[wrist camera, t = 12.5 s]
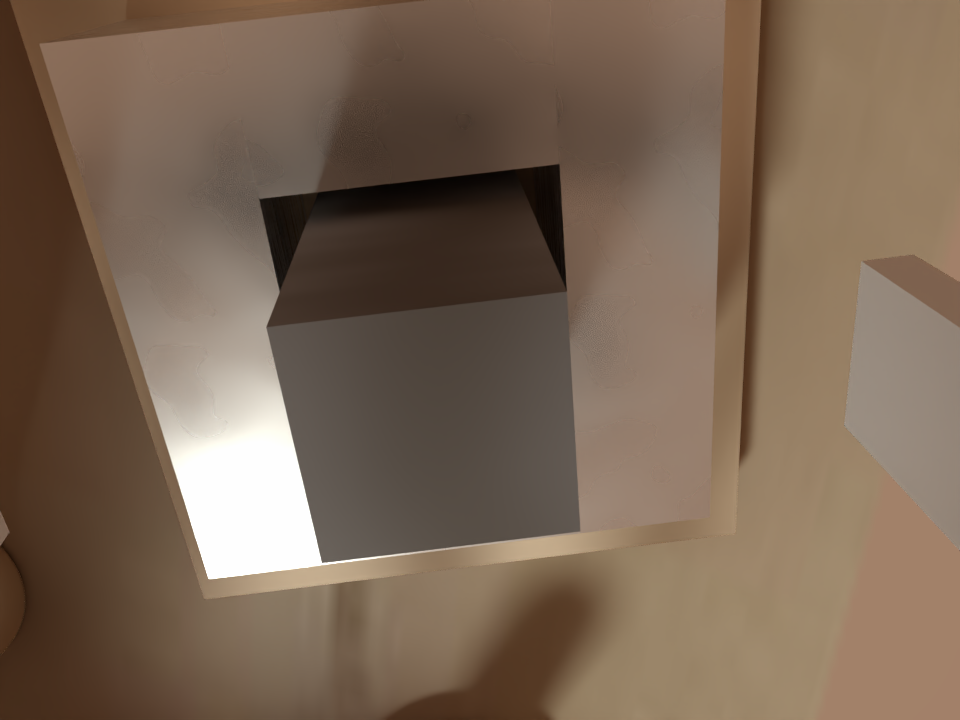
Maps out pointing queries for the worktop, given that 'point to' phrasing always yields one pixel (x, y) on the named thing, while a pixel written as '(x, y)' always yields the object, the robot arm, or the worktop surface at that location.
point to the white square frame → (394, 159)
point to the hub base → (437, 350)
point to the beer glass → (10, 600)
